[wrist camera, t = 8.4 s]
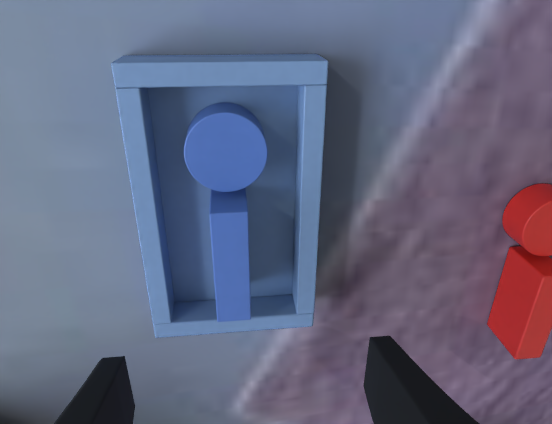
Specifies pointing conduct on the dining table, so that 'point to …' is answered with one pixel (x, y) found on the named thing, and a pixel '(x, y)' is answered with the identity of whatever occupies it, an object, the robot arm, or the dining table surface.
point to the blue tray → (196, 198)
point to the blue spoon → (228, 195)
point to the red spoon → (526, 275)
